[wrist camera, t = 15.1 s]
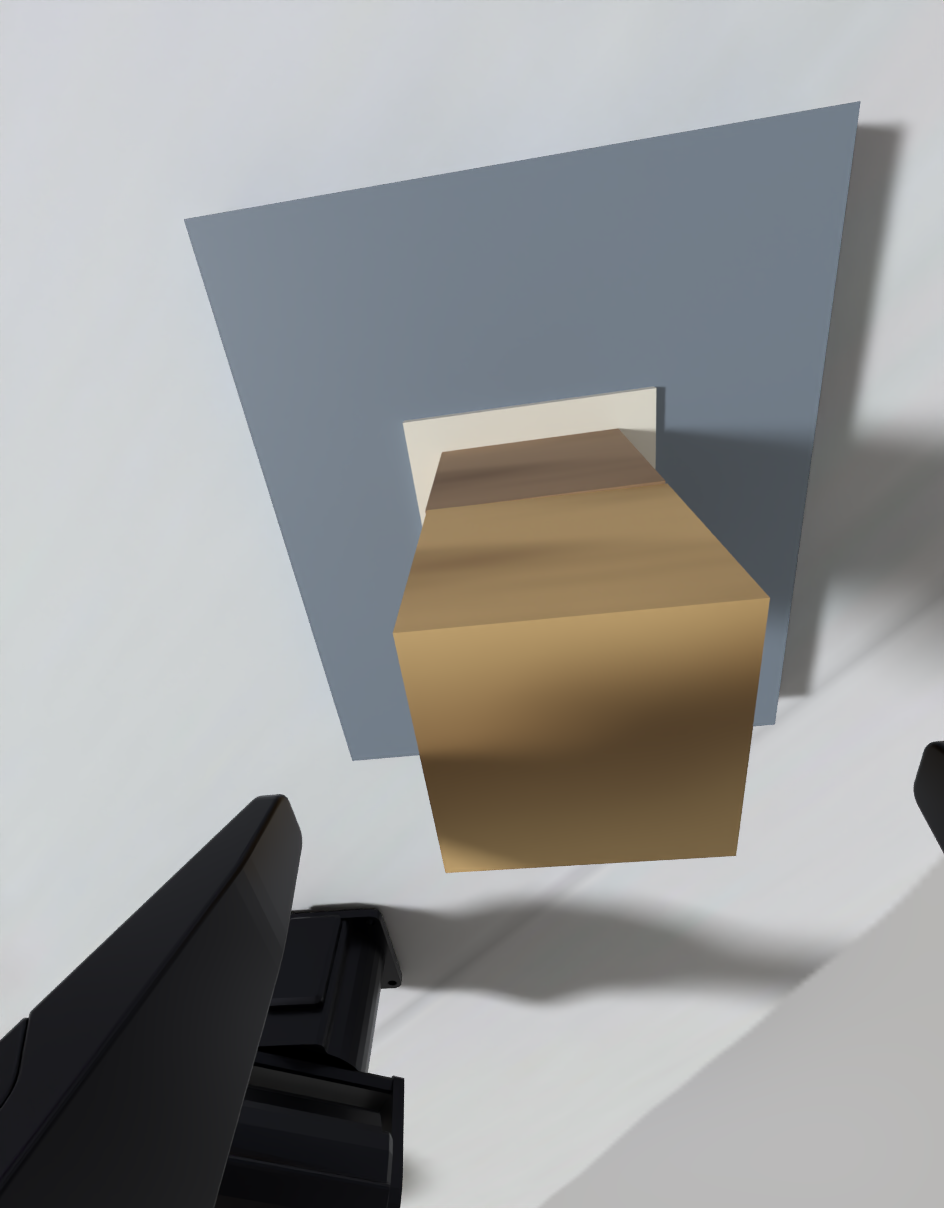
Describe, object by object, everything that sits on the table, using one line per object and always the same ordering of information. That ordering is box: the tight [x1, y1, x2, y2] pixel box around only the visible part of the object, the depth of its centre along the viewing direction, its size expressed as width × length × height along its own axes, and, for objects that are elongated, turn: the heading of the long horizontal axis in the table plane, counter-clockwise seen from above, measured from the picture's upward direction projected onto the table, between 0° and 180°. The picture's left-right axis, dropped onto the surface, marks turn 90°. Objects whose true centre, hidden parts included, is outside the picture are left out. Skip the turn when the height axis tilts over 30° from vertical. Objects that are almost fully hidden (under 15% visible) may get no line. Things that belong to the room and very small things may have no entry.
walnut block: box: [425, 428, 665, 513], centre depth 16 cm, size 5×5×5 cm
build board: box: [184, 101, 860, 761], centre depth 19 cm, size 18×16×2 cm
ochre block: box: [393, 484, 770, 873], centre depth 11 cm, size 5×5×5 cm
